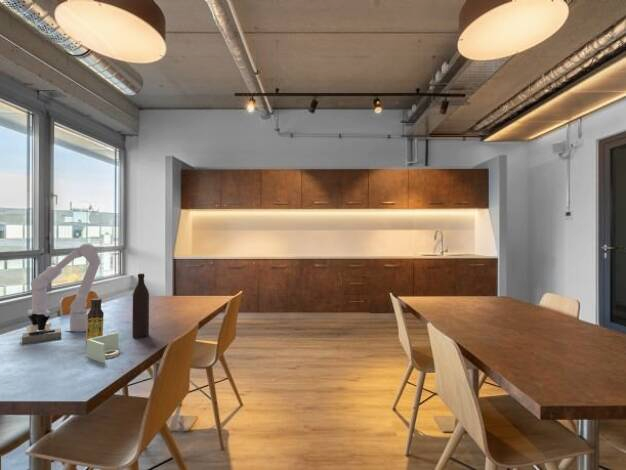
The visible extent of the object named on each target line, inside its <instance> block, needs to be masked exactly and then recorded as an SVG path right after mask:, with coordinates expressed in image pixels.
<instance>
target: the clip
mask: <svg viewBox="0 0 626 470" xmlns="http://www.w3.org/2000/svg"><path fill="white" fill-rule="evenodd" d="M51 328H52V322H48V321H47V323H46V326H45V329H44V330H51ZM44 330H41V331H44ZM26 331H27V333H29V332H37V331H39V329H38V324H37V325H33V324H32V325H27V326H26Z"/></svg>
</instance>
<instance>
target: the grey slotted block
mask: <svg viewBox="0 0 626 470" xmlns="http://www.w3.org/2000/svg"><path fill="white" fill-rule="evenodd" d="M59 339H60V340H61V339H62V329H61V327H60V328H53V329H50V330H44V331H42V330H41V331H39V330H37V332H29V333H28V332H23V333H22V335H21V344H22V345H26V344H32V343H40V342H46V341H52V340H59Z"/></svg>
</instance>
